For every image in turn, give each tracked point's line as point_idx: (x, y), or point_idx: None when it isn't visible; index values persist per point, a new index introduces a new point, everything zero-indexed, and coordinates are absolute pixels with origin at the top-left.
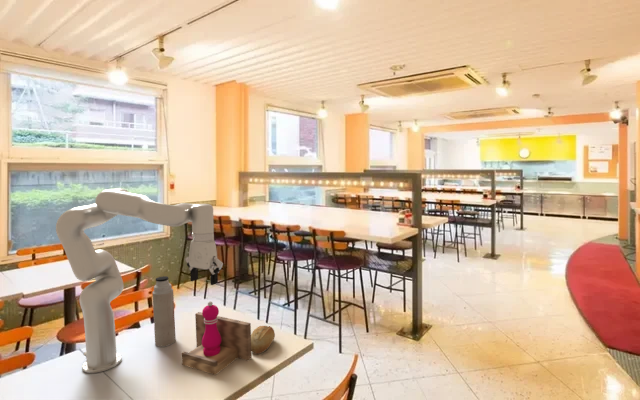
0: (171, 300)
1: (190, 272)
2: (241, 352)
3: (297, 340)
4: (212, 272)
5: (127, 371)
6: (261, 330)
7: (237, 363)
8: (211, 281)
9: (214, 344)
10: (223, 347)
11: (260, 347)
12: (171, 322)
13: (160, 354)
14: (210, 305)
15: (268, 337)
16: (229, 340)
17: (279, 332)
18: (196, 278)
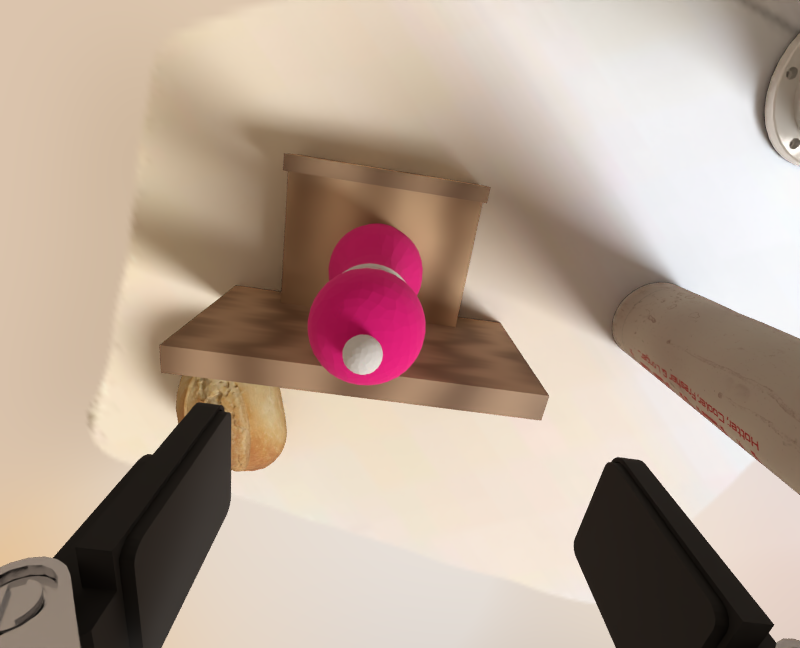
0: (766, 433)
1: (745, 590)
2: (261, 297)
3: None
4: (37, 623)
5: (687, 67)
6: None
7: (264, 255)
8: (174, 435)
9: (338, 243)
10: None
11: None
12: (671, 355)
13: (618, 230)
14: (351, 338)
15: (177, 394)
16: None
17: (244, 489)
18: (587, 538)
